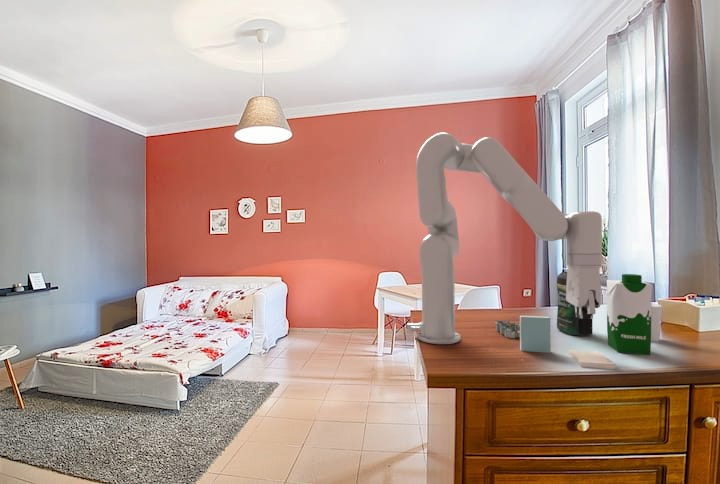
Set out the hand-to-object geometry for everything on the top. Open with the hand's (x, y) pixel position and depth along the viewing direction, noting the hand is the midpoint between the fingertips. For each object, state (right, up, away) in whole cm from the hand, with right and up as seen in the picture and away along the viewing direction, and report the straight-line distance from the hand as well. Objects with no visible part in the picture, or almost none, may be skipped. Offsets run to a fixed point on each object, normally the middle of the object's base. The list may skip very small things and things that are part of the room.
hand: (584, 333), depth 87 cm
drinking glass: (+27, -5, +14) cm, 31 cm away
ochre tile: (0, -5, +1) cm, 5 cm away
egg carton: (-10, -6, +20) cm, 23 cm away
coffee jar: (+10, -5, +21) cm, 24 cm away
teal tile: (-10, -6, +4) cm, 12 cm away
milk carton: (+14, -6, +4) cm, 16 cm away
